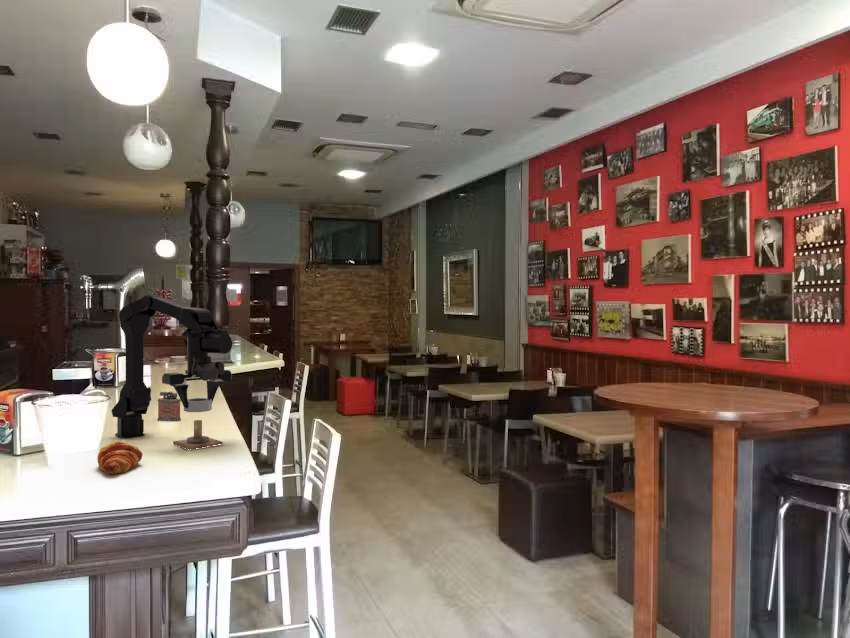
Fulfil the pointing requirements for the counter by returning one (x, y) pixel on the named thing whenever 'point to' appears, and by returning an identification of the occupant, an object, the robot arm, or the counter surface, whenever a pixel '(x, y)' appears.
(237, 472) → the counter surface
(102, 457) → the croissant
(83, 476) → the counter surface
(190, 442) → the peg stand
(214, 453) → the counter surface
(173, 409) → the lighter
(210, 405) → the ring
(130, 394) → the robot arm
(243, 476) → the counter surface
